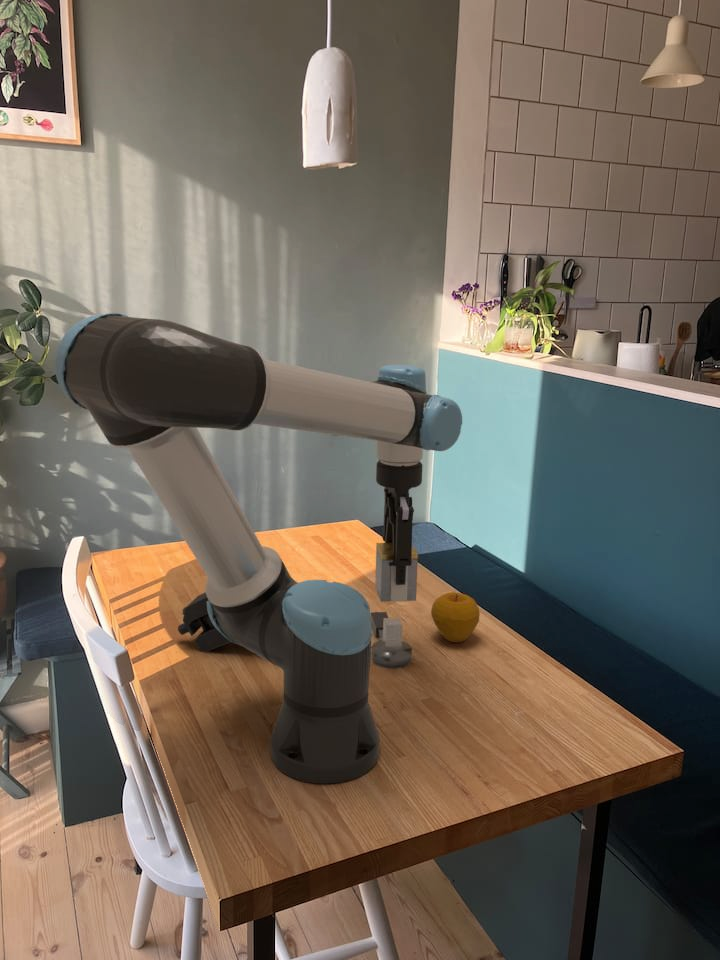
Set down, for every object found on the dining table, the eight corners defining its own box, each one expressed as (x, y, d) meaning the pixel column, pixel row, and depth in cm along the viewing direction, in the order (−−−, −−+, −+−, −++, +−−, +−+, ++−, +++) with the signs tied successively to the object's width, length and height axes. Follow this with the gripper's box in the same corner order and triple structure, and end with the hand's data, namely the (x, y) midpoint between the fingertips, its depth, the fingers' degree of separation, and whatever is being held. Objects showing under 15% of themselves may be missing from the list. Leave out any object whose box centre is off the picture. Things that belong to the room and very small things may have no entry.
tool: (295, 648, 136) (252, 572, 135) (203, 687, 142) (161, 614, 140) (304, 633, 142) (264, 560, 140) (216, 671, 148) (176, 601, 146)
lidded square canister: (416, 600, 135) (417, 553, 133) (380, 601, 134) (381, 555, 132) (409, 586, 140) (410, 542, 138) (375, 588, 140) (376, 542, 138)
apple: (420, 633, 150) (422, 588, 148) (459, 625, 154) (462, 581, 152) (446, 654, 142) (449, 606, 140) (488, 644, 146) (491, 598, 144)
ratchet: (415, 667, 137) (416, 629, 135) (374, 668, 136) (375, 630, 134) (395, 621, 155) (397, 587, 153) (359, 622, 154) (361, 588, 152)
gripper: (434, 474, 123) (428, 615, 129) (411, 448, 141) (406, 572, 147) (386, 475, 122) (382, 616, 128) (368, 448, 140) (365, 573, 146)
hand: (395, 592), depth 137 cm, fingers closed on lidded square canister, 6 cm apart
